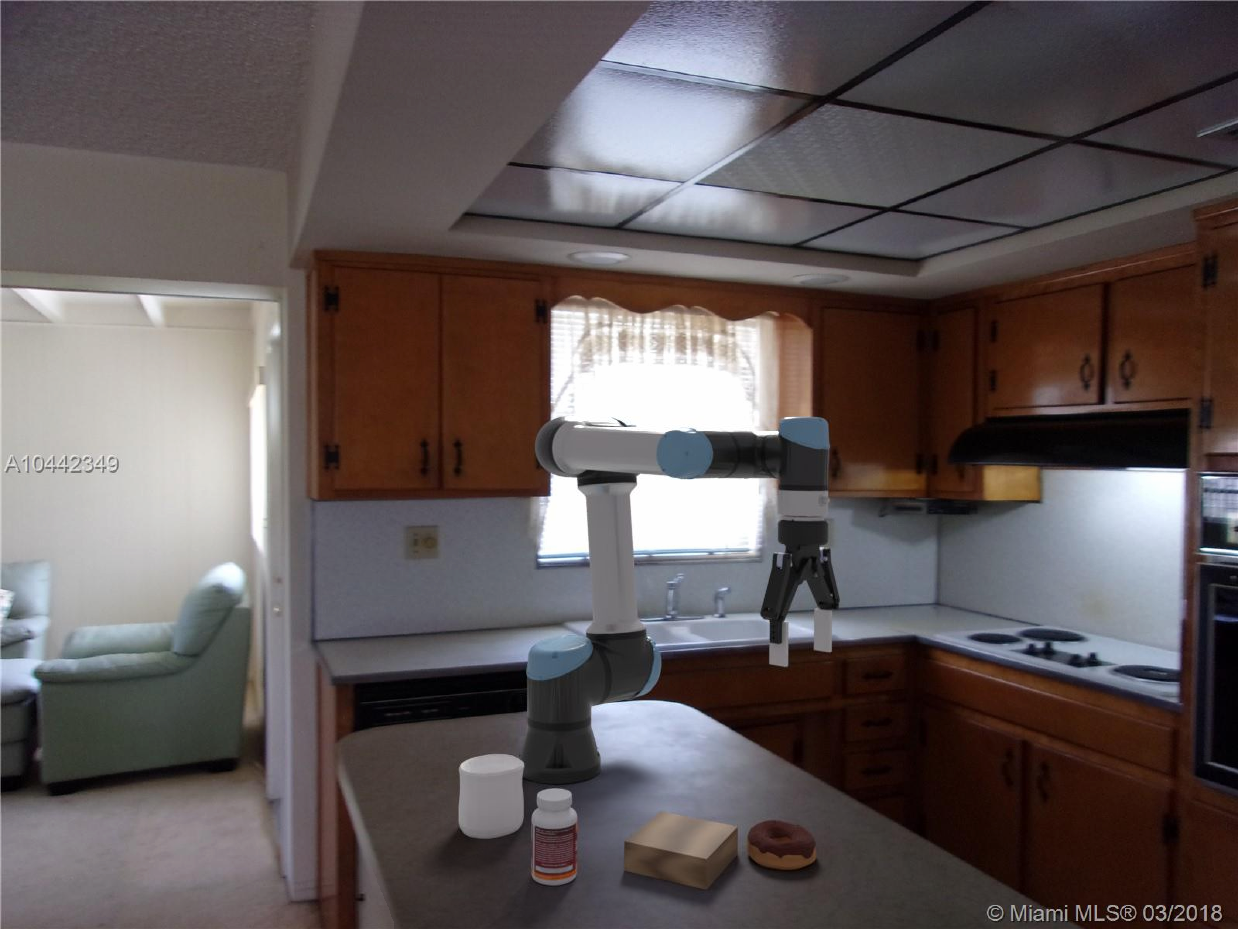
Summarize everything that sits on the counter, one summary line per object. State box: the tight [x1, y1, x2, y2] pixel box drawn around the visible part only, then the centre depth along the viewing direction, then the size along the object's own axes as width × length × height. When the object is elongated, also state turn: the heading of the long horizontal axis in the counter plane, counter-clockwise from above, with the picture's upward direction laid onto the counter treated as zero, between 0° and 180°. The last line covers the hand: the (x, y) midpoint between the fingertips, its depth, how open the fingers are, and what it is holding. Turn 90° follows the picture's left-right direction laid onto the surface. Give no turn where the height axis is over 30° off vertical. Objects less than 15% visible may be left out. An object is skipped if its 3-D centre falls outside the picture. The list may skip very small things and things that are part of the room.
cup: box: [458, 753, 525, 840], centre depth 138 cm, size 10×10×10 cm
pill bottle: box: [530, 787, 578, 886], centre depth 121 cm, size 6×6×11 cm
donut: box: [746, 819, 818, 871], centre depth 128 cm, size 10×10×4 cm
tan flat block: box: [623, 811, 739, 891], centre depth 126 cm, size 12×12×4 cm
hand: (801, 658), depth 138 cm, fingers open, 13 cm apart
